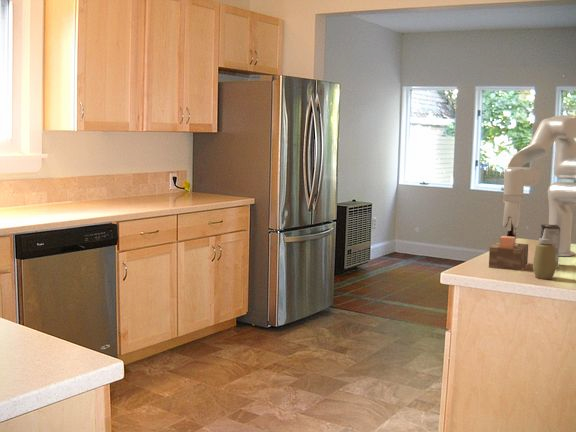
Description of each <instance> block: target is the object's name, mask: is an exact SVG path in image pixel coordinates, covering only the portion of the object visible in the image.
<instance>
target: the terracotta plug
mask: <svg viewBox="0 0 576 432" xmlns="http://www.w3.org/2000/svg"><path fill="white" fill-rule="evenodd" d="M516 238H517V236H516V237H513V236H507V235H501V236H500V237H499V242H500V248H510V249H514V248H515V243H516V241H515V239H516Z"/></svg>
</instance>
